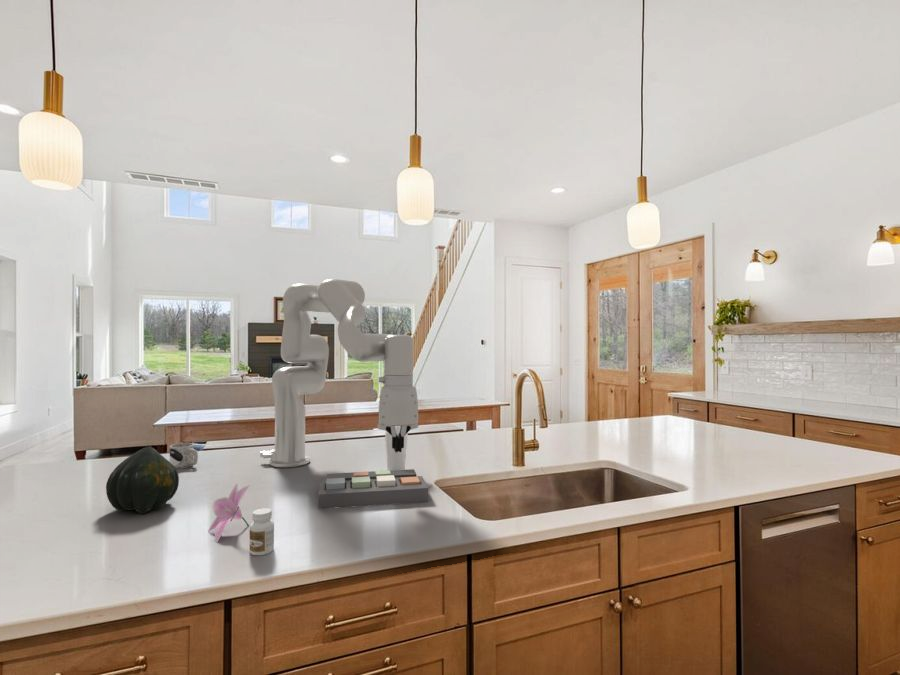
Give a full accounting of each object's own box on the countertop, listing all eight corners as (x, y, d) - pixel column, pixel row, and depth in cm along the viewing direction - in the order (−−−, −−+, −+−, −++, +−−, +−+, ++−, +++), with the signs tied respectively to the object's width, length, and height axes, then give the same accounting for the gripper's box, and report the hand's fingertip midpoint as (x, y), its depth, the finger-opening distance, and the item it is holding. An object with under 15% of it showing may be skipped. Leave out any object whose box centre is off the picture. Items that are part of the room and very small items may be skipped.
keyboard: (318, 509, 115) (318, 491, 115) (321, 488, 130) (321, 472, 130) (428, 501, 121) (428, 484, 121) (418, 482, 136) (418, 467, 136)
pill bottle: (244, 553, 91) (244, 513, 91) (261, 544, 95) (261, 505, 95) (262, 557, 89) (262, 516, 89) (278, 548, 93) (279, 508, 93)
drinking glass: (403, 477, 141) (403, 427, 141) (381, 476, 142) (382, 426, 142) (409, 471, 147) (410, 423, 147) (389, 470, 149) (389, 422, 149)
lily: (216, 524, 107) (196, 493, 103) (267, 500, 110) (249, 469, 106) (213, 563, 97) (190, 530, 93) (269, 535, 100) (250, 502, 96)
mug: (164, 467, 150) (164, 446, 150) (183, 462, 156) (183, 442, 156) (187, 470, 146) (187, 449, 146) (205, 465, 153) (206, 444, 152)
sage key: (352, 492, 120) (352, 482, 120) (351, 486, 125) (351, 477, 125) (370, 491, 121) (370, 481, 121) (369, 485, 126) (369, 476, 126)
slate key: (325, 493, 119) (326, 484, 119) (326, 488, 123) (326, 478, 123) (344, 492, 120) (344, 483, 120) (344, 486, 124) (344, 477, 124)
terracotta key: (402, 491, 123) (402, 482, 123) (400, 486, 127) (400, 477, 127) (419, 490, 124) (420, 481, 124) (417, 485, 128) (417, 476, 128)
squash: (110, 503, 102) (158, 442, 111) (80, 493, 110) (127, 437, 119) (162, 530, 111) (203, 472, 120) (131, 519, 119) (171, 465, 128)
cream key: (377, 490, 121) (377, 481, 121) (376, 485, 126) (376, 476, 126) (395, 489, 122) (395, 480, 122) (393, 484, 127) (393, 475, 127)
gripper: (370, 383, 120) (370, 456, 120) (429, 382, 123) (428, 453, 123) (368, 380, 127) (368, 449, 127) (424, 379, 130) (423, 446, 130)
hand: (397, 450), depth 125 cm, fingers closed
